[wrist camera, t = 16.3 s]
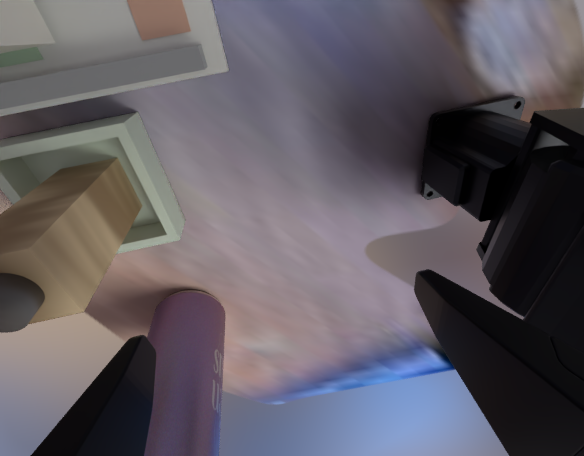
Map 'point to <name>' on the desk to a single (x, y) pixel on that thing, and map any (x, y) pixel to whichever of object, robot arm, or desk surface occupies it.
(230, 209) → the desk surface
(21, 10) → the breaker
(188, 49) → the panel
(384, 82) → the desk surface
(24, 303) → the tan rectangular block
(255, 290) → the desk surface
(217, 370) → the beverage can
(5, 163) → the holder
